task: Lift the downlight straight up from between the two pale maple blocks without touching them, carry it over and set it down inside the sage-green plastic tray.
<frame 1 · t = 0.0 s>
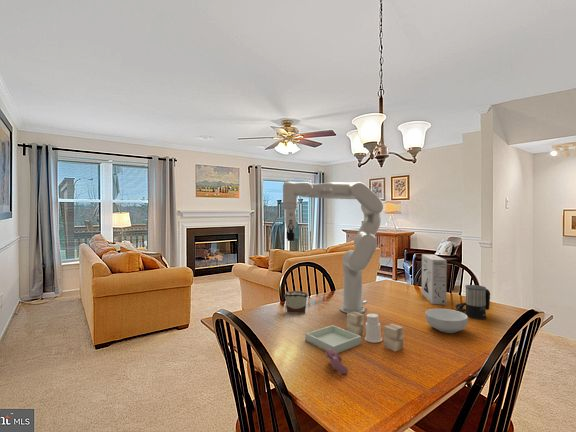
hand: (290, 239, 165), 37 cm above the table, tool pointing down, fingers open, 9 cm apart
cereal box: (433, 299, 189), on the table
milk frother: (469, 314, 162), on the table
cereal bowl: (445, 330, 141), on the table
maple block 1: (355, 332, 138), on the table
tray: (333, 342, 127), on the table
video game controller: (336, 368, 107), on the table
maple block 2: (393, 347, 123), on the table
food container: (296, 311, 166), on the table
downlight: (373, 339, 130), on the table
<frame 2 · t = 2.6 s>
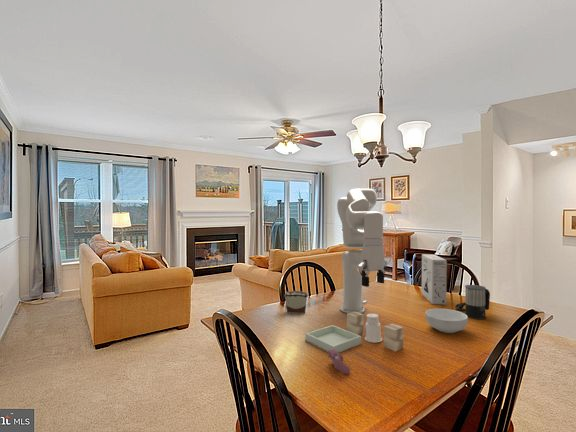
hand: (373, 284, 130), 22 cm above the table, tool pointing down, fingers open, 9 cm apart
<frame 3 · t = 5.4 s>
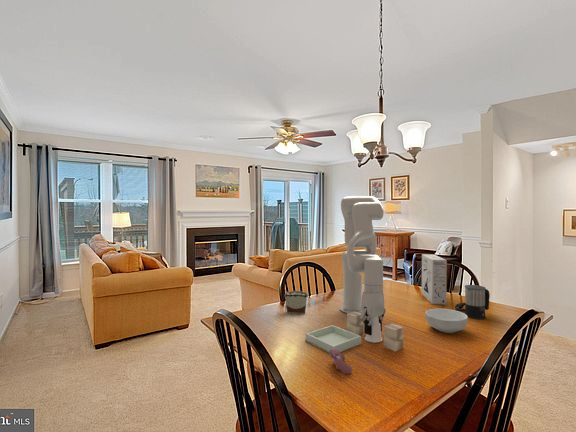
hand: (373, 331, 130), 3 cm above the table, tool pointing down, fingers closed on downlight, 5 cm apart
downlight: (373, 339, 130), on the table, touching gripper
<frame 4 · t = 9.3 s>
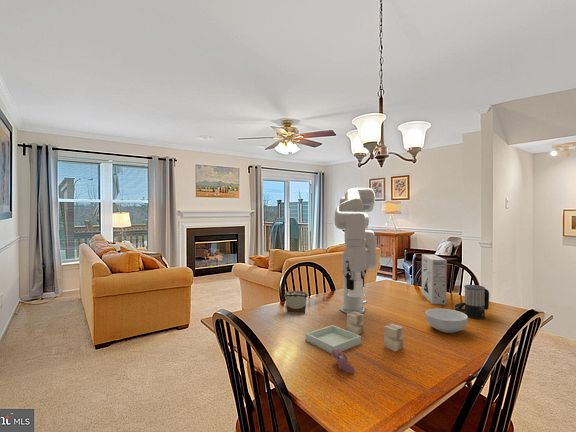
hand: (355, 287, 128), 22 cm above the table, tool pointing down, fingers closed on downlight, 5 cm apart
downlight: (355, 295, 129), point 18 cm above the table, touching gripper
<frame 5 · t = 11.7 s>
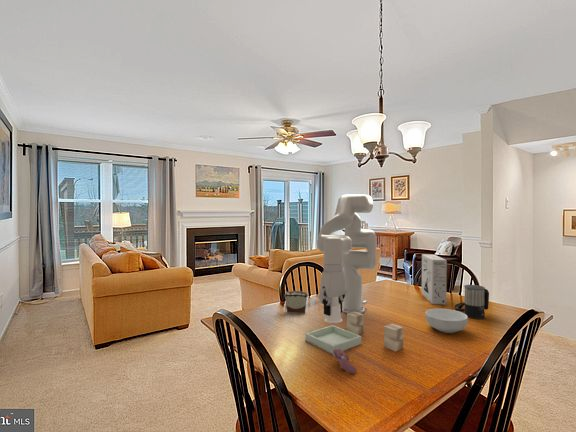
hand: (333, 312, 127), 12 cm above the table, tool pointing down, fingers closed on downlight, 5 cm apart
downlight: (333, 321, 127), point 9 cm above the table, touching gripper
when the fingers open (6 cm above the table, at t = 13.3 s): downlight drops 2 cm, resting on tray.
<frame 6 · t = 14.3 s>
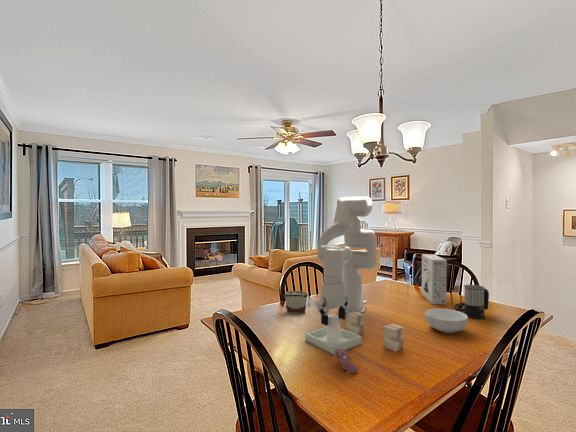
hand: (333, 321, 128), 8 cm above the table, tool pointing down, fingers open, 9 cm apart
downlight: (333, 341, 128), resting on tray
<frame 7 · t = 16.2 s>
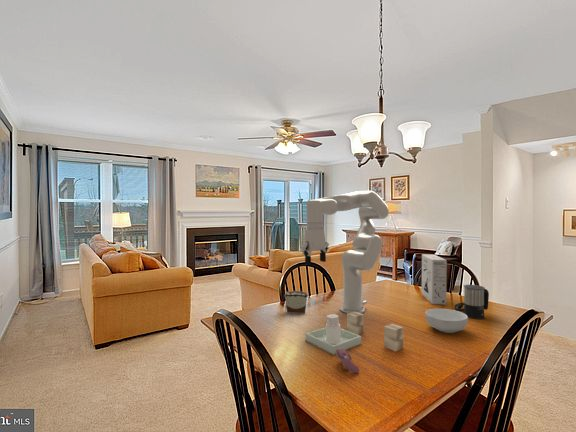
hand: (315, 262, 149), 28 cm above the table, tool pointing down, fingers open, 9 cm apart
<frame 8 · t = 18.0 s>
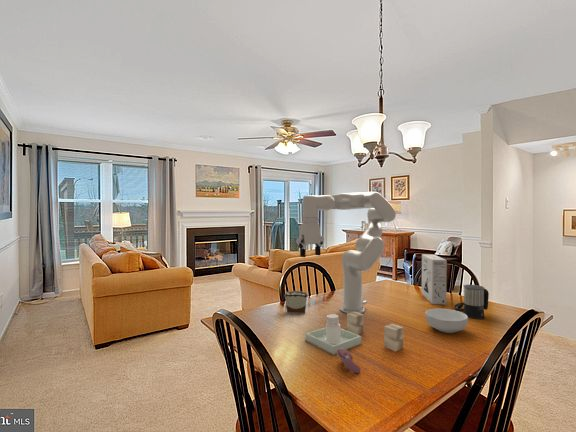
hand: (310, 256, 155), 30 cm above the table, tool pointing down, fingers open, 9 cm apart
at the end: downlight inside the target area on the tray (0.2 cm from its centre), point 0.4 cm above the tray's base; maple block 2 moved 0.1 cm from its start; maple block 1 moved 0.1 cm from its start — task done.
